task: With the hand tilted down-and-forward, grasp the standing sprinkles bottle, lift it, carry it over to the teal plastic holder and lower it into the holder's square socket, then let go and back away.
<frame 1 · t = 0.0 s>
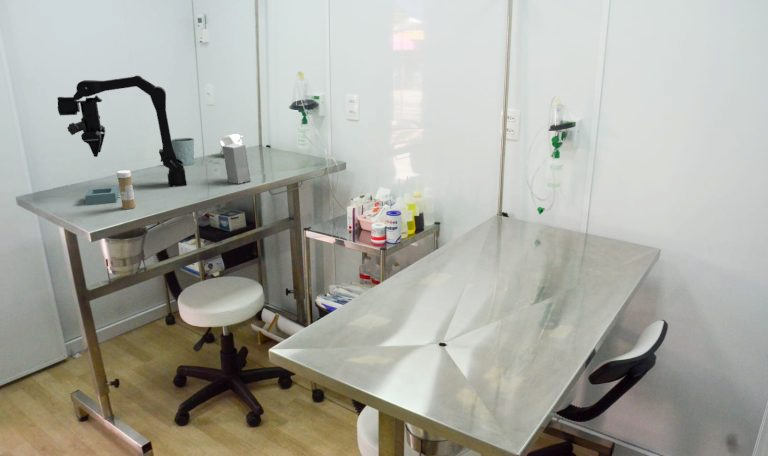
hand: (97, 154, 217), 15 cm above the table, tool pointing down, fingers open, 9 cm apart
elephant figurine: (233, 157, 282), on the table
skincare box: (238, 182, 235), on the table
sprinkles bottle: (129, 208, 199), on the table
drinking glass: (185, 164, 267), on the table
holder: (103, 200, 209), on the table
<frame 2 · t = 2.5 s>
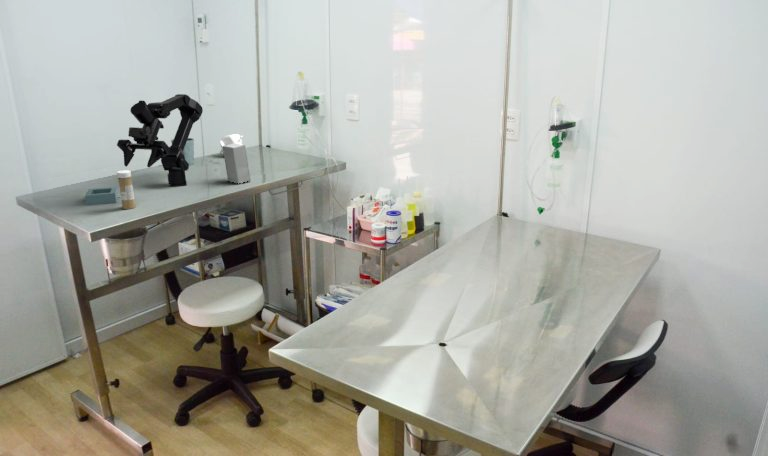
hand: (136, 166, 202), 13 cm above the table, tool tilted 45°, fingers open, 9 cm apart
nothing on the table moved.
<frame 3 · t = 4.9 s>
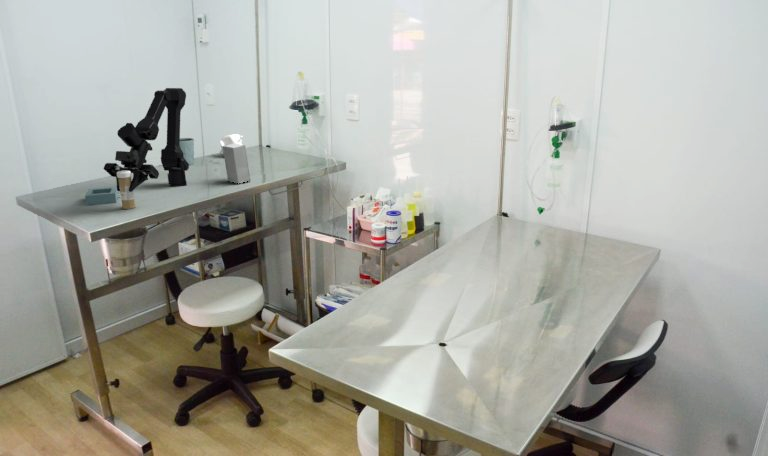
hand: (124, 191, 196), 7 cm above the table, tool tilted 45°, fingers closed on sprinkles bottle, 4 cm apart
sprinkles bottle: (129, 208, 199), on the table, touching gripper
everything else where it was.
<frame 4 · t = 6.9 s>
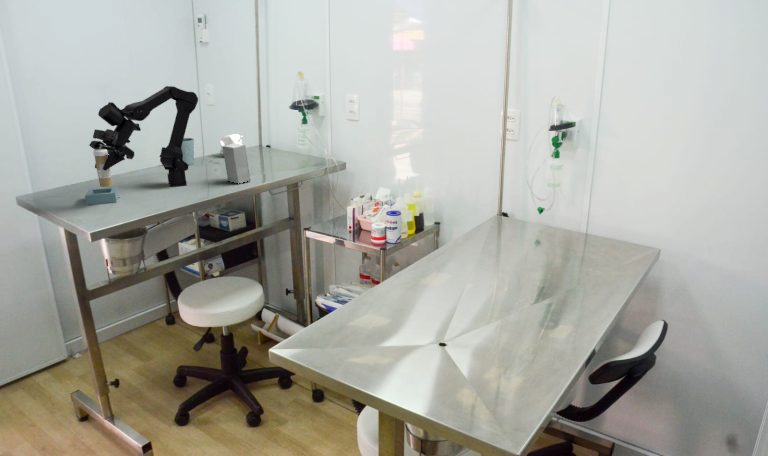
hand: (99, 169, 199), 13 cm above the table, tool tilted 45°, fingers closed on sprinkles bottle, 4 cm apart
sprinkles bottle: (106, 186, 203), point 6 cm above the table, touching gripper
everything else where it was.
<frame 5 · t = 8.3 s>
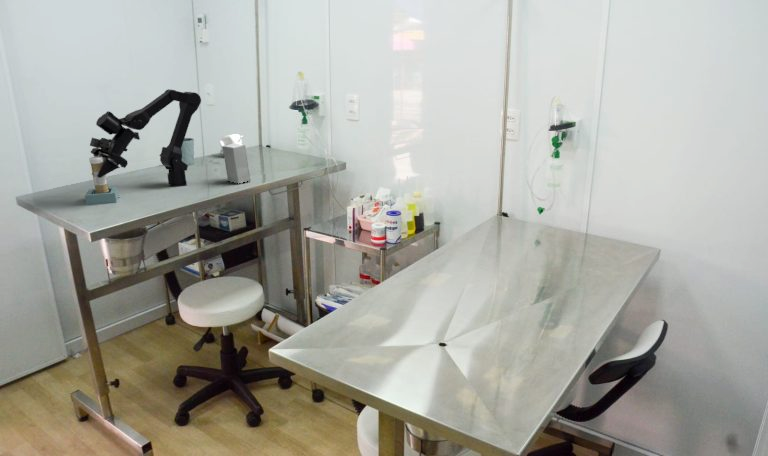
hand: (95, 176, 205), 10 cm above the table, tool tilted 45°, fingers closed on sprinkles bottle, 4 cm apart
sprinkles bottle: (102, 192, 208), point 3 cm above the table, touching gripper
everything else where it was.
when the fingers open (8 cm above the table, at t = 9.0 s): sprinkles bottle drops 1 cm, resting in holder.
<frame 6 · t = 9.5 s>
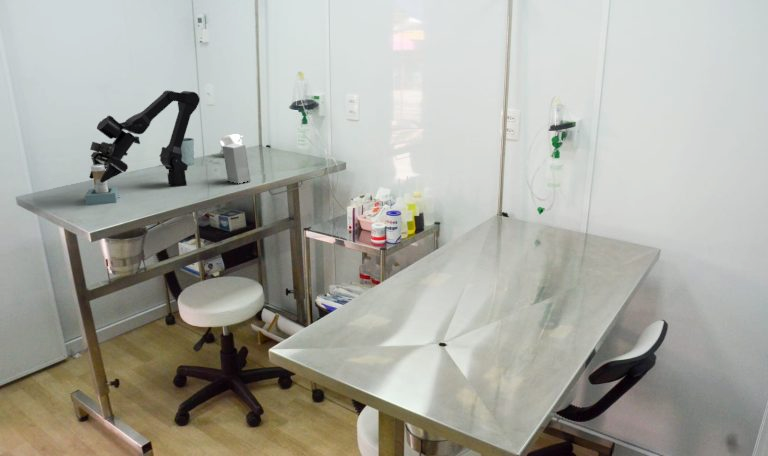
hand: (95, 180, 205), 8 cm above the table, tool tilted 45°, fingers open, 9 cm apart
sprinkles bottle: (103, 200, 209), resting in holder
everything else where it was.
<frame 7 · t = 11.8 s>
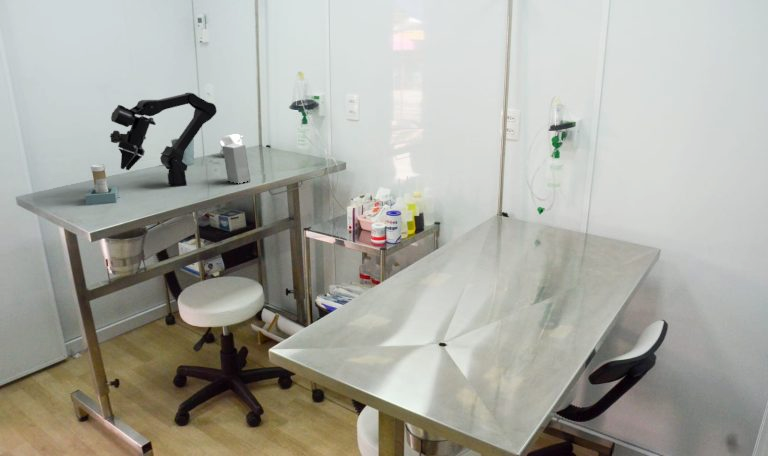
hand: (124, 169, 213), 10 cm above the table, tool tilted 30°, fingers open, 9 cm apart
nothing on the table moved.
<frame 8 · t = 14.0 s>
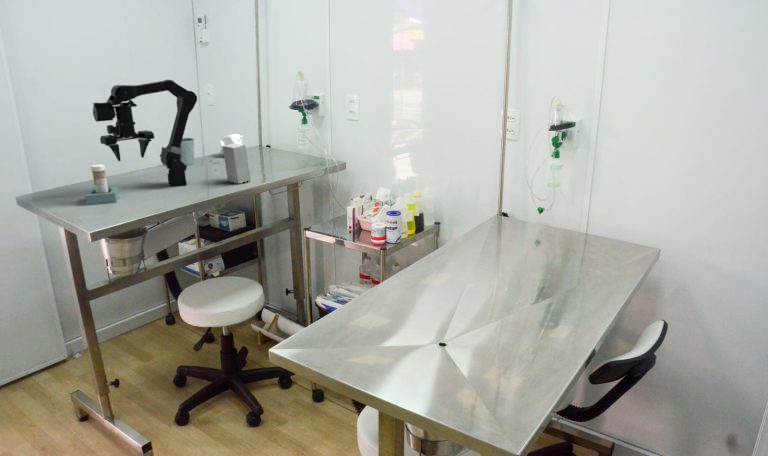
hand: (131, 159, 216), 13 cm above the table, tool pointing down, fingers open, 9 cm apart
nothing on the table moved.
at the end: sprinkles bottle 0.2 cm from the holder (horizontally); sprinkles bottle tilted 0°; the gripper is holding nothing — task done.
